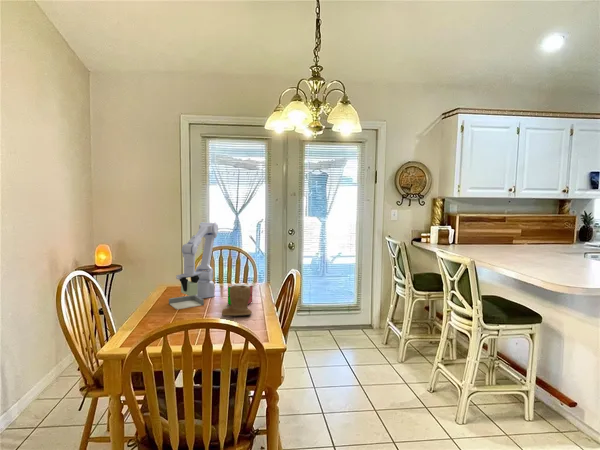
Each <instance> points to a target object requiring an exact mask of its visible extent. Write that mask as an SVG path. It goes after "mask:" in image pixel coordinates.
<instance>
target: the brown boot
mask: <svg viewBox="0 0 600 450" xmlns="http://www.w3.org/2000/svg"><path fill="white" fill-rule="evenodd" d="M233 285H234V286H232V285H230V286H231V288H230V300H231V305H230V306H228V307H227V308H226V307H225V308H223V309H222V310H221V317H241V316H250V315H252V314H253V312H252V310H251V309H250V308H249V307H248V305H249V304H248V301H249V298H250V287H248V286H239V285H236V286H235V284H233Z"/></svg>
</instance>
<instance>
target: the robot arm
mask: <svg viewBox="0 0 600 450" xmlns="http://www.w3.org/2000/svg"><path fill="white" fill-rule="evenodd" d="M218 231H219V226H218V224H217V222H206V221H204V222H203V221H201V222H200V224H199V225H198V231H197V232H196V234H195V235H192V236H191V238H190V239H189V240H188V242H186V243H184V244H183V245H182V248H181V253H182V257H183V273H180V274H177V275H176V276H175V277H176V280H178V281H180V285H181V284H182V286H183V290H184V291H185V292H186V291H187V282H188V281H189V279H187V278H190V281H191V282H194V283H197V284H198V286H197V295H196V296H198V297H200V298H202V299H207V298H212V297H215V283H214V281H213V279H214V269H213V267H211V265H210V264H211V259H212V254H213V248H214V242H215V239H216V238H217V236H218V233H219V232H218ZM203 238H204V239H205V240H204V247H203V251H202V256H201V262H200V264H199V265H198V266H197V267H196V254H197V252H198V249H199V246H200V244H201V243H202V239H203Z"/></svg>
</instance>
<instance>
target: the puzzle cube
mask: <svg viewBox="0 0 600 450" xmlns="http://www.w3.org/2000/svg"><path fill="white" fill-rule="evenodd" d="M234 285H235V286H236V285H239V286H248V287H250V298H249V301H248V305H250V304H252V303H253V285H251V284H245V283H239V282H238V283H235V284H233V285H229V286H228V287H227V295H228V296H227V305H228V304H229V305H230V306H231V300H230V288H231V286H234ZM251 302H252V303H251ZM249 303H250V304H249Z"/></svg>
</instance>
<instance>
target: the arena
mask: <svg viewBox="0 0 600 450" xmlns="http://www.w3.org/2000/svg"><path fill="white" fill-rule="evenodd" d="M204 299H205V298H200V297H198V296H196V295H192V296H189V295H185V296H177V297H171V298H168V305H169V306H171V307H172V308H173V309H175V310H182V309H183V310H184V309H189V308H194V307H200V306H204V305H205V300H204Z"/></svg>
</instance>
